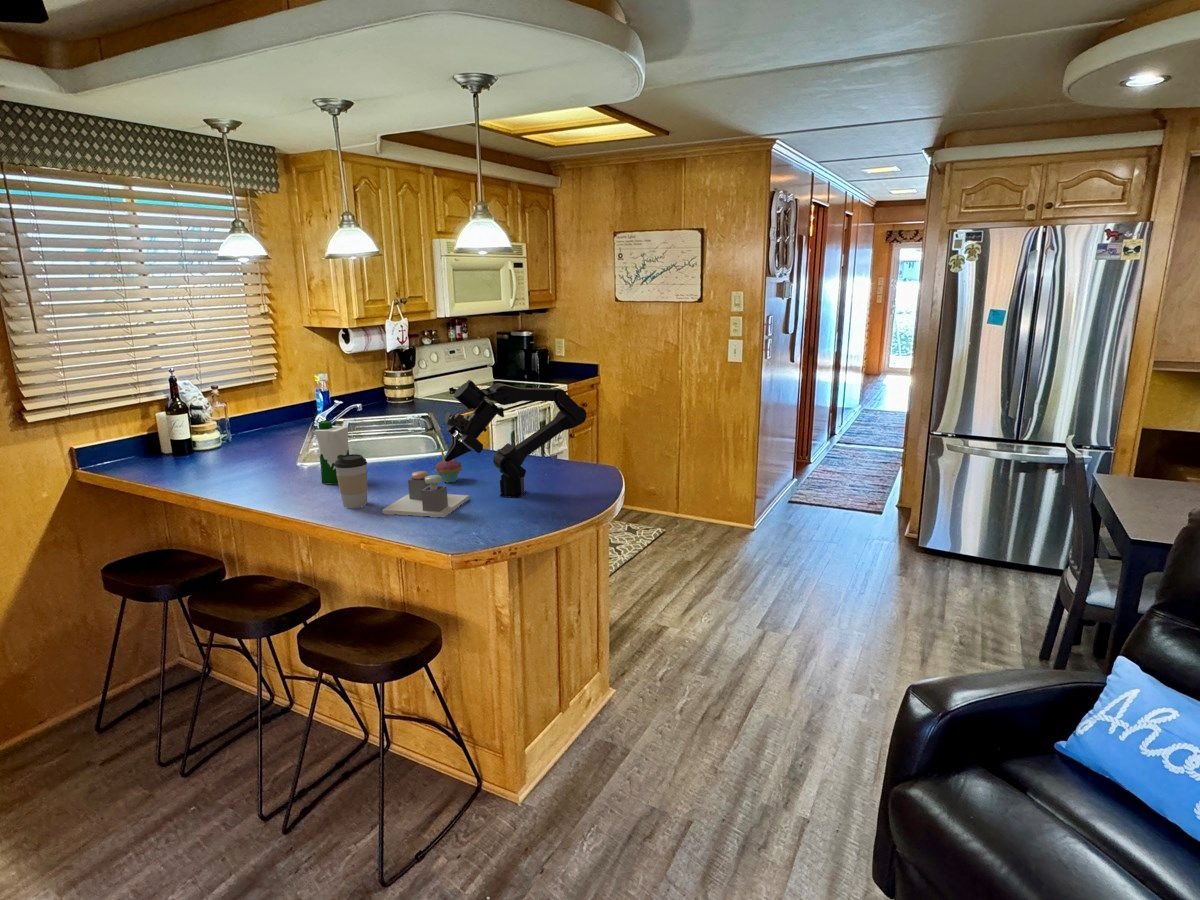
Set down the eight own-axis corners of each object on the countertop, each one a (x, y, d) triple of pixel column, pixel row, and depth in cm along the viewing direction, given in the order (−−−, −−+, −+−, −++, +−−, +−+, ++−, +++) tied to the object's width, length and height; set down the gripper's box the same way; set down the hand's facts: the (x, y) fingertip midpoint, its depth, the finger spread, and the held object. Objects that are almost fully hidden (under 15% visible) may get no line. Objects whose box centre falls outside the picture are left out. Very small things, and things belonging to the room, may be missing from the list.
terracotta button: (432, 493, 208) (430, 471, 207) (425, 498, 204) (423, 475, 202) (418, 492, 210) (416, 470, 208) (410, 497, 205) (408, 475, 204)
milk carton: (332, 476, 234) (326, 419, 229) (356, 478, 232) (350, 419, 228) (317, 484, 226) (310, 424, 221) (342, 485, 224) (335, 425, 219)
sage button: (446, 498, 198) (444, 475, 196) (438, 503, 193) (436, 480, 192) (431, 497, 199) (429, 474, 197) (423, 502, 194) (421, 479, 193)
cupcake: (436, 485, 222) (434, 449, 219) (435, 478, 230) (432, 443, 227) (463, 483, 224) (461, 447, 222) (461, 476, 232) (459, 441, 229)
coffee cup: (360, 497, 211) (355, 450, 207) (377, 503, 205) (372, 454, 202) (333, 505, 204) (327, 456, 201) (350, 511, 199) (344, 461, 195)
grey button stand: (469, 499, 208) (467, 476, 206) (444, 518, 192) (442, 493, 190) (411, 495, 212) (409, 473, 211) (382, 513, 196) (380, 489, 195)
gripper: (450, 397, 206) (416, 437, 204) (469, 407, 190) (432, 451, 188) (477, 420, 211) (444, 460, 209) (498, 431, 195) (462, 474, 193)
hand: (445, 460), depth 200 cm, fingers closed
